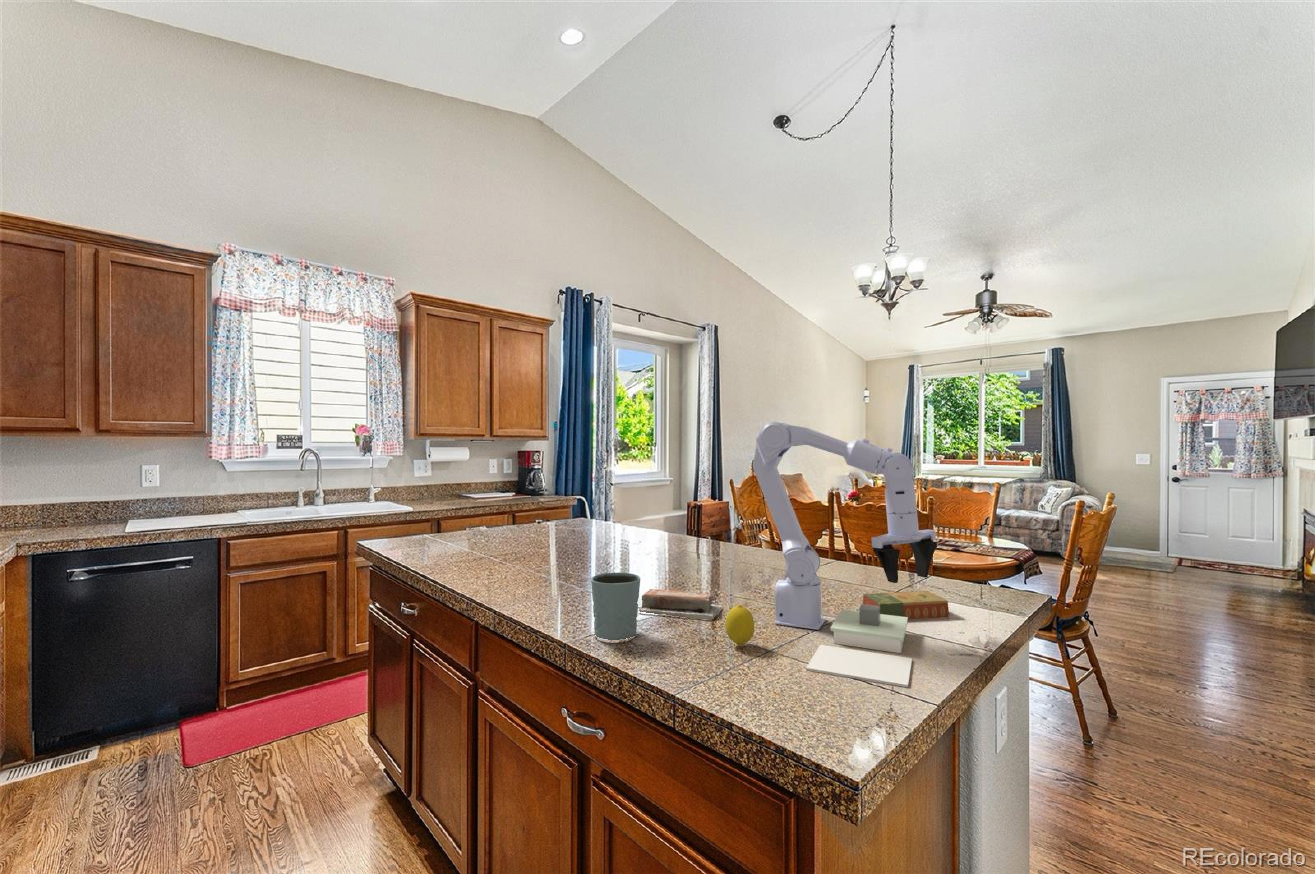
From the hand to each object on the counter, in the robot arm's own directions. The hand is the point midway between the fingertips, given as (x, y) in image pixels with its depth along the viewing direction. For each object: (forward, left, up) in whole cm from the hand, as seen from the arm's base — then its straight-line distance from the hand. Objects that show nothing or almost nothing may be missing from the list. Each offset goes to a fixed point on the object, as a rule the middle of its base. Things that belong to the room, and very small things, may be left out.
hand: (907, 579), depth 112 cm
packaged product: (-49, -5, -12) cm, 50 cm away
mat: (-7, -21, -11) cm, 24 cm away
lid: (-7, -6, -9) cm, 13 cm away
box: (-7, -6, -11) cm, 14 cm away
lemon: (-29, -21, -11) cm, 37 cm away
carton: (-2, +14, -12) cm, 19 cm away
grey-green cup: (-54, -26, -11) cm, 61 cm away
